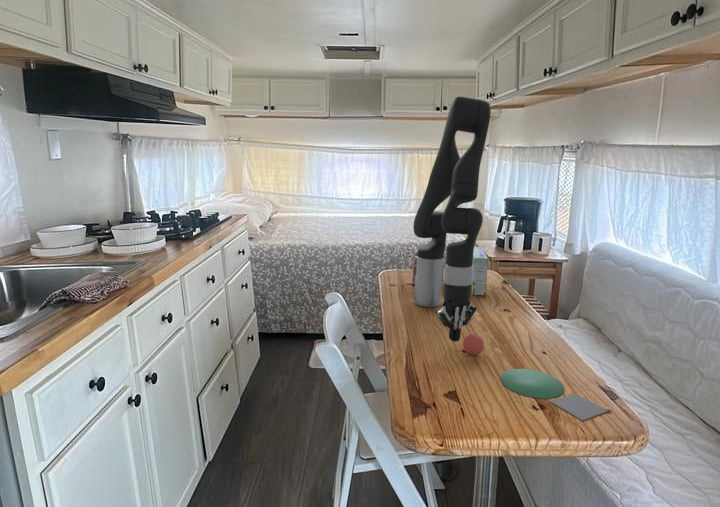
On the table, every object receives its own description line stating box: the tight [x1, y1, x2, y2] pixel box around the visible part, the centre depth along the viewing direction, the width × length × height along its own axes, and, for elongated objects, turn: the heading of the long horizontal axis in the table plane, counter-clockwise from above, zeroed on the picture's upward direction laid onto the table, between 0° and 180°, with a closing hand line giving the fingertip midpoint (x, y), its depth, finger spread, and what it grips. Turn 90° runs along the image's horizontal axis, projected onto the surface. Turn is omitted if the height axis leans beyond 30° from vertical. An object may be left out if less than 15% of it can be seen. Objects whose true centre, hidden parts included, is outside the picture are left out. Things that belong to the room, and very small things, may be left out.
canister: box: [411, 242, 446, 286], centre depth 187 cm, size 13×13×18 cm
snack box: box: [471, 246, 489, 297], centre depth 183 cm, size 21×6×15 cm, turn 172°
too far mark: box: [550, 393, 609, 422], centre depth 98 cm, size 8×8×1 cm
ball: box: [462, 333, 485, 356], centre depth 123 cm, size 6×6×6 cm
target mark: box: [500, 368, 565, 400], centre depth 108 cm, size 14×14×1 cm
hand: (454, 340), depth 128 cm, fingers closed
